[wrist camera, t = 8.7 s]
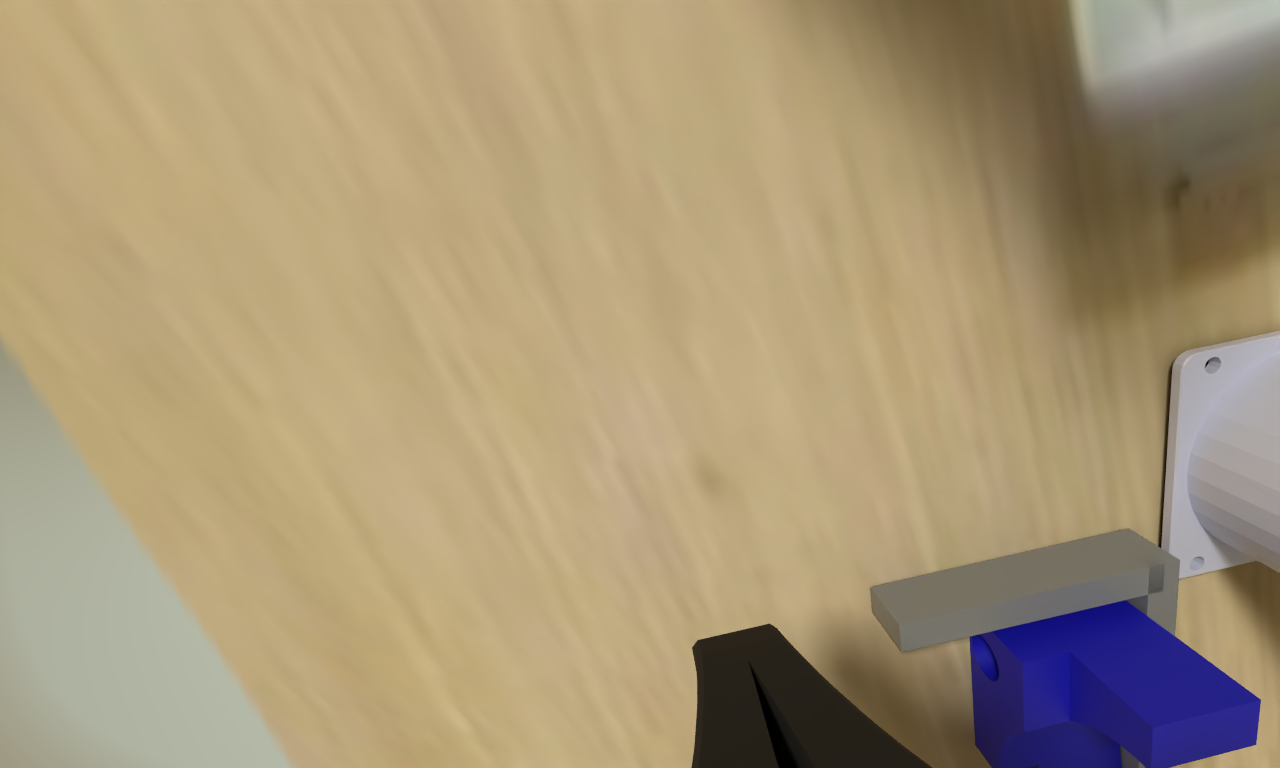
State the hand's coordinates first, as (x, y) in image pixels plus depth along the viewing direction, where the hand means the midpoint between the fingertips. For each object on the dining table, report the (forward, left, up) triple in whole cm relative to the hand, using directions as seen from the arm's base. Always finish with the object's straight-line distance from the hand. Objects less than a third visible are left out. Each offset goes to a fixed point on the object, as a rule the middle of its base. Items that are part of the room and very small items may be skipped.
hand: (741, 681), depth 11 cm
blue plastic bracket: (-12, +14, -10) cm, 20 cm away
